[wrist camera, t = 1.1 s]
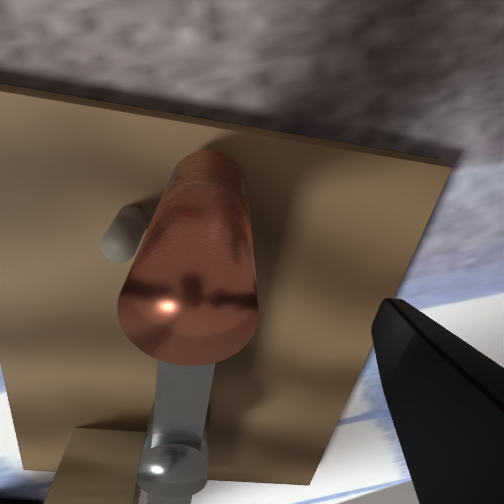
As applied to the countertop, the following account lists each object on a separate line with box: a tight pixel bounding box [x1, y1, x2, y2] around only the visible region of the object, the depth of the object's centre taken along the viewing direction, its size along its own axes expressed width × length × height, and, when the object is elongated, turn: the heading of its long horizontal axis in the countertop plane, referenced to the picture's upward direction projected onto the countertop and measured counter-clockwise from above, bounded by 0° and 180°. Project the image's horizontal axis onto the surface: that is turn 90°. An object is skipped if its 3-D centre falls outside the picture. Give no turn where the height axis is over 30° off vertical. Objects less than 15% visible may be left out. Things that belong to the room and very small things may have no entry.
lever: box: [117, 150, 259, 504], centre depth 15 cm, size 20×3×8 cm, turn 170°
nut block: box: [44, 427, 146, 504], centre depth 21 cm, size 4×4×4 cm
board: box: [0, 84, 452, 485], centre depth 18 cm, size 22×18×4 cm
